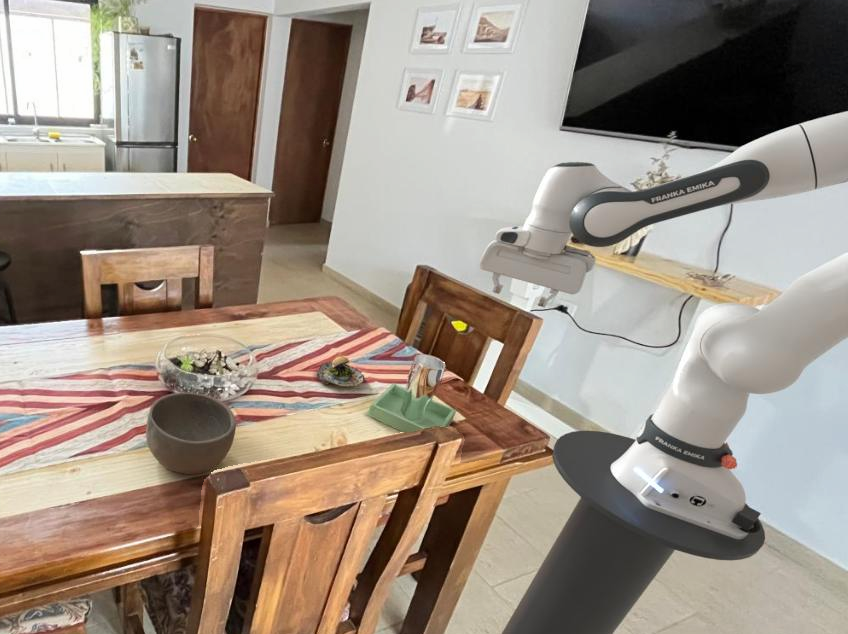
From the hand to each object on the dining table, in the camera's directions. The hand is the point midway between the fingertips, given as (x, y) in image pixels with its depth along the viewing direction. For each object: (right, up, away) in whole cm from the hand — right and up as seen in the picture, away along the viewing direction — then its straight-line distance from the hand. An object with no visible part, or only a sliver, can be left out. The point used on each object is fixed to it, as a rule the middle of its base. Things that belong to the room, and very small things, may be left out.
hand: (518, 299), depth 117 cm
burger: (-36, -20, +18) cm, 45 cm away
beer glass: (-22, -28, +5) cm, 36 cm away
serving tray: (-22, -28, +5) cm, 36 cm away
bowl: (-74, -32, -14) cm, 82 cm away
